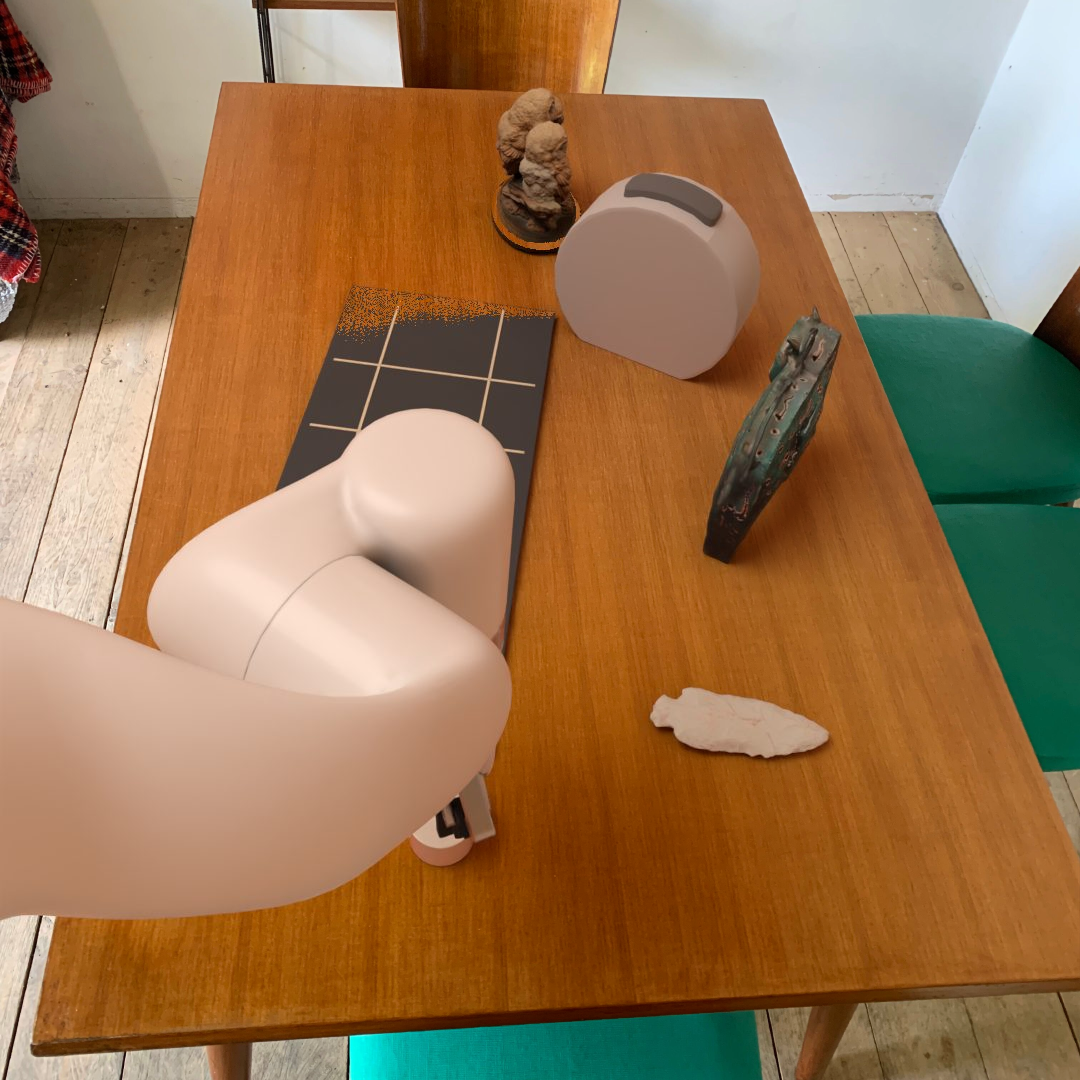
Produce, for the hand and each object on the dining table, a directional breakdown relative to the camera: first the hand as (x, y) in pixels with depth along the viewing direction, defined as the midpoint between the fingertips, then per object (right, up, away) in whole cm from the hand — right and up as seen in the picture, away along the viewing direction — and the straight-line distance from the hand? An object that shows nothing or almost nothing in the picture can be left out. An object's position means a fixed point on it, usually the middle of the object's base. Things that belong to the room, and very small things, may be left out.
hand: (437, 757), depth 60 cm
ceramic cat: (+28, +19, +33) cm, 47 cm away
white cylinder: (-1, -8, +10) cm, 13 cm away
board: (-6, +20, +31) cm, 37 cm away
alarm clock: (+19, +37, +47) cm, 63 cm away
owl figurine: (+6, +56, +60) cm, 82 cm away
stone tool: (+23, -2, +17) cm, 29 cm away
